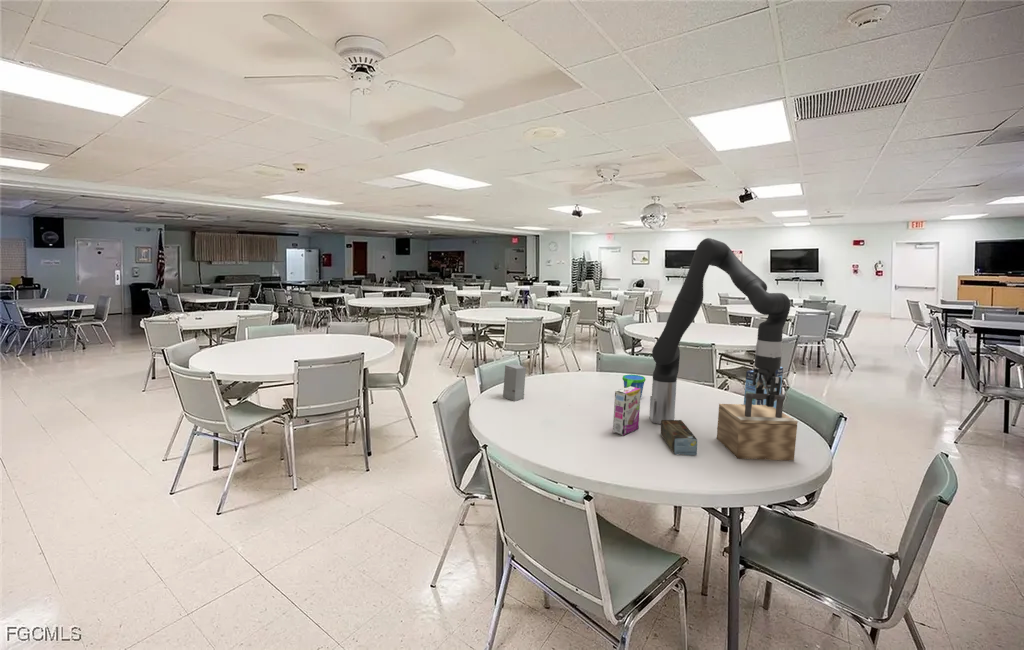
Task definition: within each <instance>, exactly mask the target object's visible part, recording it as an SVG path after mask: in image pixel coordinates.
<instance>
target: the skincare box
mask: <svg viewBox="0 0 1024 650" xmlns="http://www.w3.org/2000/svg"><path fill="white" fill-rule="evenodd" d="M526 370H527V367H525V366H522V365H520V364H516V363H512V364H505V365H504V378H503V393H502V398H504V399H506V398H507V400H510V401H513V402H515V401H516V400H517V401H521V400H520V399H522V400H524V398H525V385H526V373H527V371H526ZM517 401H516V402H517Z"/></svg>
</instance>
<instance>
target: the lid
mask: <svg viewBox="0 0 1024 650" xmlns="http://www.w3.org/2000/svg"><path fill="white" fill-rule="evenodd" d="M744 395H745V398H746V404H745V405H744V403H743V404H739V403H734V404H733V403H718V408H719V407H720V408H722V409H723V410H724V411H725V412H727V413H728V414H729V415H731V416H732V417H733V418H735V419H736V420H737V421H738V422H740V423H757V424H791V425H797V426H798V423H799V422H798V420H797V419H795V418H794V417H793V418H792V417H791V416H789V415H787V414H785V413H784V412H783V409H784V408H783V407H784V400H786V397H785V396H786V395H785V394H784V393H783V394H782V393H781V394H779V395H776V396H775V398H774V400H777V402H776V409H775V408H774V407H767V406H766V405H752V399H766V397H767V394H755V393H746V394H745V393H744Z"/></svg>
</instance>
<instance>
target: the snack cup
mask: <svg viewBox="0 0 1024 650" xmlns="http://www.w3.org/2000/svg"><path fill="white" fill-rule="evenodd" d="M622 382H623V389H624V388H627V387H630V386H631V387H636V388H640V389H641V397H640V399H641V398H642V396H643V390H644V385H645V382H646V377H645V376H643V375H639V374H624V375H623V376H622Z"/></svg>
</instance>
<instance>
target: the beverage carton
mask: <svg viewBox="0 0 1024 650" xmlns="http://www.w3.org/2000/svg"><path fill="white" fill-rule="evenodd" d="M660 436H661V437H662V438H663V440H664V441H665V443H666V444H667V446H668V448H670V450H671V451H672V453H673V454H674V455H677V454H684V456H685V455H686V456H697V455H698V453H697V452H698V439H697V437H696V436H695V435H694V433H693V432H692V431H691V429H690V428H689V427H688V426H687V424H685V423H684V421H683V420H682V419H674V420H661V424H660Z"/></svg>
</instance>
